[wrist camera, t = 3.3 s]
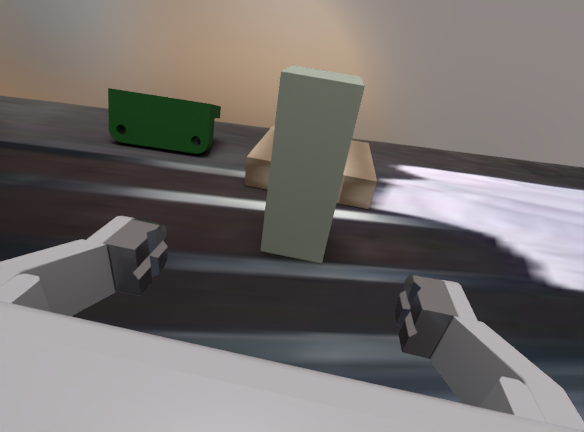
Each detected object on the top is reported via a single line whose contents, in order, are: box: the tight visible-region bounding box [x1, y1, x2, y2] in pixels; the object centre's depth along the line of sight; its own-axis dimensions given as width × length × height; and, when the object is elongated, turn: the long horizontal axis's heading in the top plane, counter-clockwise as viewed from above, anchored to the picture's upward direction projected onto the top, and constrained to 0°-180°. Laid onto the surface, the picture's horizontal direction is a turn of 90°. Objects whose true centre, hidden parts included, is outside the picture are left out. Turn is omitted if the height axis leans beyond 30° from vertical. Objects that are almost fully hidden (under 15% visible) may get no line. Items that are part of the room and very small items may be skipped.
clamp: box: [108, 89, 221, 154], centre depth 38 cm, size 12×6×9 cm, turn 81°
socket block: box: [245, 126, 377, 209], centre depth 36 cm, size 12×12×3 cm
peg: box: [261, 65, 365, 264], centre depth 22 cm, size 4×4×12 cm
